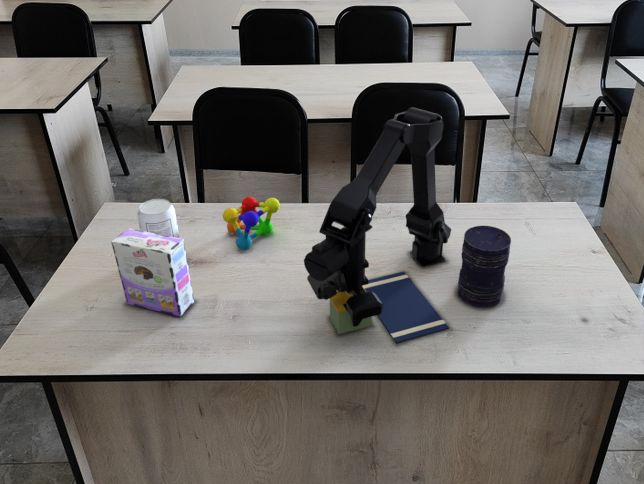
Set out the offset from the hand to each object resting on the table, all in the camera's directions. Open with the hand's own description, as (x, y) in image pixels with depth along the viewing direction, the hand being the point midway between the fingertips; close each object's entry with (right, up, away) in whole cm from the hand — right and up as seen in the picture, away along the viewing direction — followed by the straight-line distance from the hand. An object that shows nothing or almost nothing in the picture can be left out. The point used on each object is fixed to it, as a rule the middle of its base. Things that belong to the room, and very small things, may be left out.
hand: (350, 317), depth 125 cm
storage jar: (+29, +4, +9) cm, 30 cm away
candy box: (-41, +2, +6) cm, 42 cm away
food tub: (0, -1, +1) cm, 1 cm away
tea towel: (+11, +2, +5) cm, 12 cm away
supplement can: (-44, +10, +19) cm, 50 cm away
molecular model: (-25, +15, +27) cm, 40 cm away
